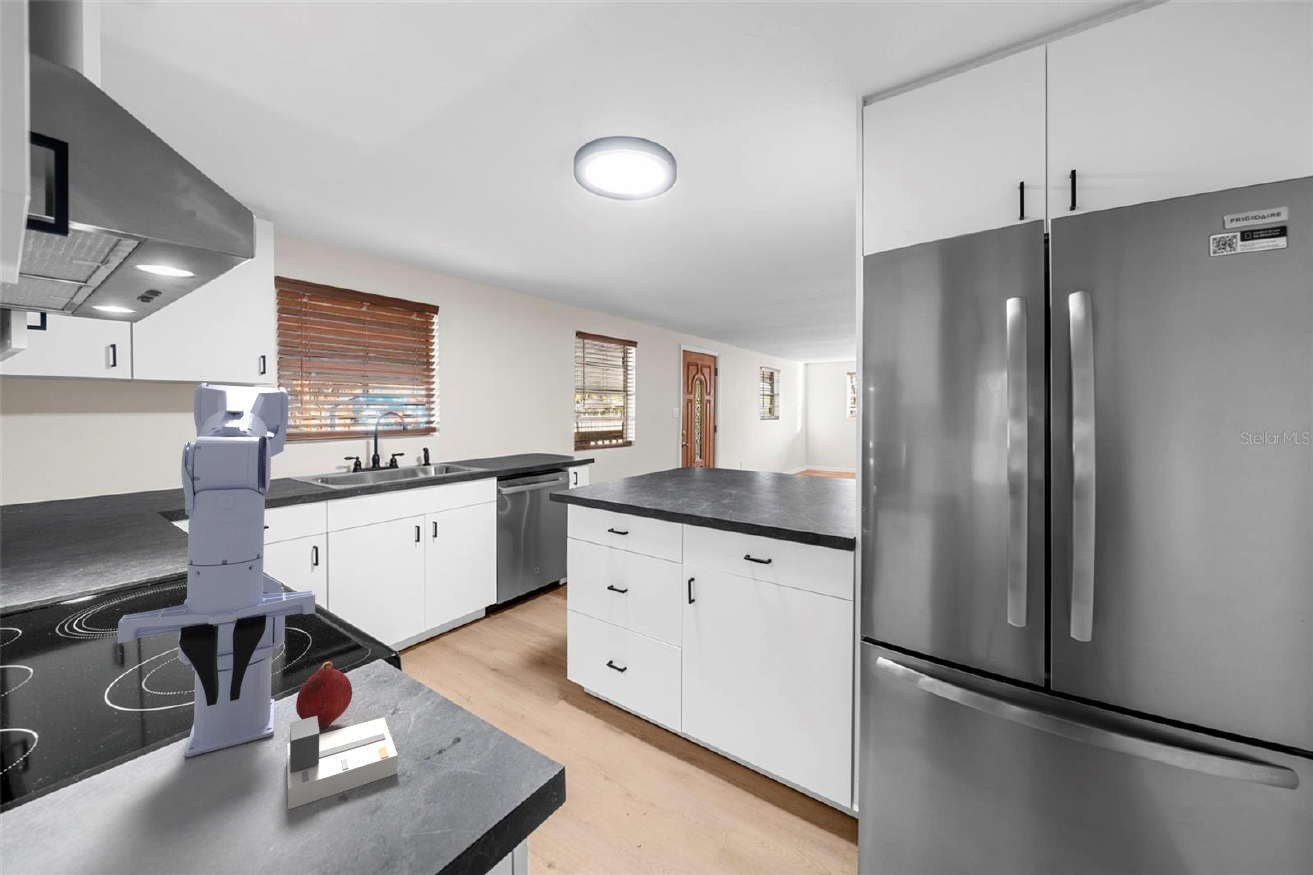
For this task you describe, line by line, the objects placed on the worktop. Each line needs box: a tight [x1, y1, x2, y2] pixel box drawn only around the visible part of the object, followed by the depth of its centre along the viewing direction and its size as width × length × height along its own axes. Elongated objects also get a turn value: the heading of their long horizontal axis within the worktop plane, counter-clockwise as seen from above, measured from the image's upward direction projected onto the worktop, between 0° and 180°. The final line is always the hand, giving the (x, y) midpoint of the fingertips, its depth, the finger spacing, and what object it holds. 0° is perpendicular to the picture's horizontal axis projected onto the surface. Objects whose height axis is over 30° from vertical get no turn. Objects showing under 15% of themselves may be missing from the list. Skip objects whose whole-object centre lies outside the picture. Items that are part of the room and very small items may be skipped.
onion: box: [295, 661, 353, 729], centre depth 64 cm, size 6×6×8 cm
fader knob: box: [289, 716, 320, 772], centre depth 55 cm, size 4×2×3 cm, turn 36°
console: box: [286, 717, 399, 810], centre depth 57 cm, size 9×10×2 cm
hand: (224, 698), depth 51 cm, fingers closed
